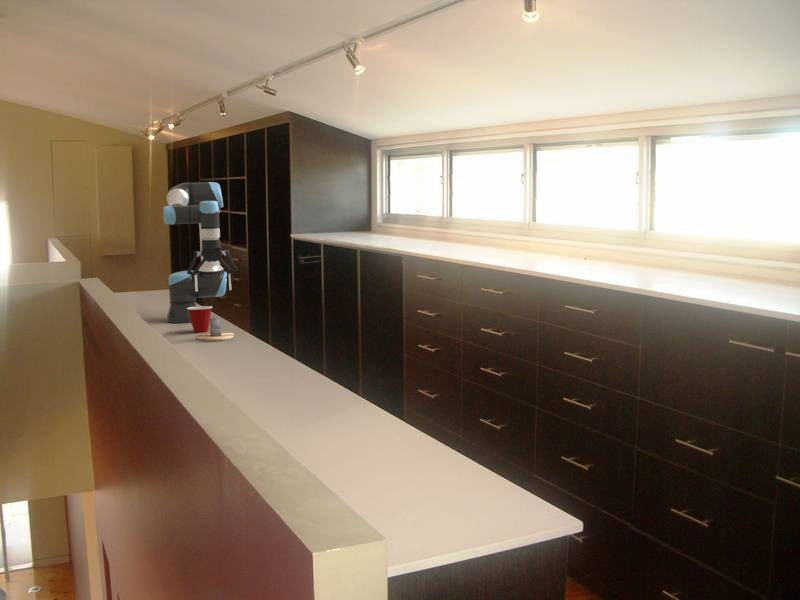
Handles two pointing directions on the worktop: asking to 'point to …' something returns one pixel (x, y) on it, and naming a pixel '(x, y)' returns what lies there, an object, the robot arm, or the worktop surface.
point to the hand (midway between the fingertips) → (213, 290)
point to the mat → (218, 341)
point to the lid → (215, 332)
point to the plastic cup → (200, 318)
